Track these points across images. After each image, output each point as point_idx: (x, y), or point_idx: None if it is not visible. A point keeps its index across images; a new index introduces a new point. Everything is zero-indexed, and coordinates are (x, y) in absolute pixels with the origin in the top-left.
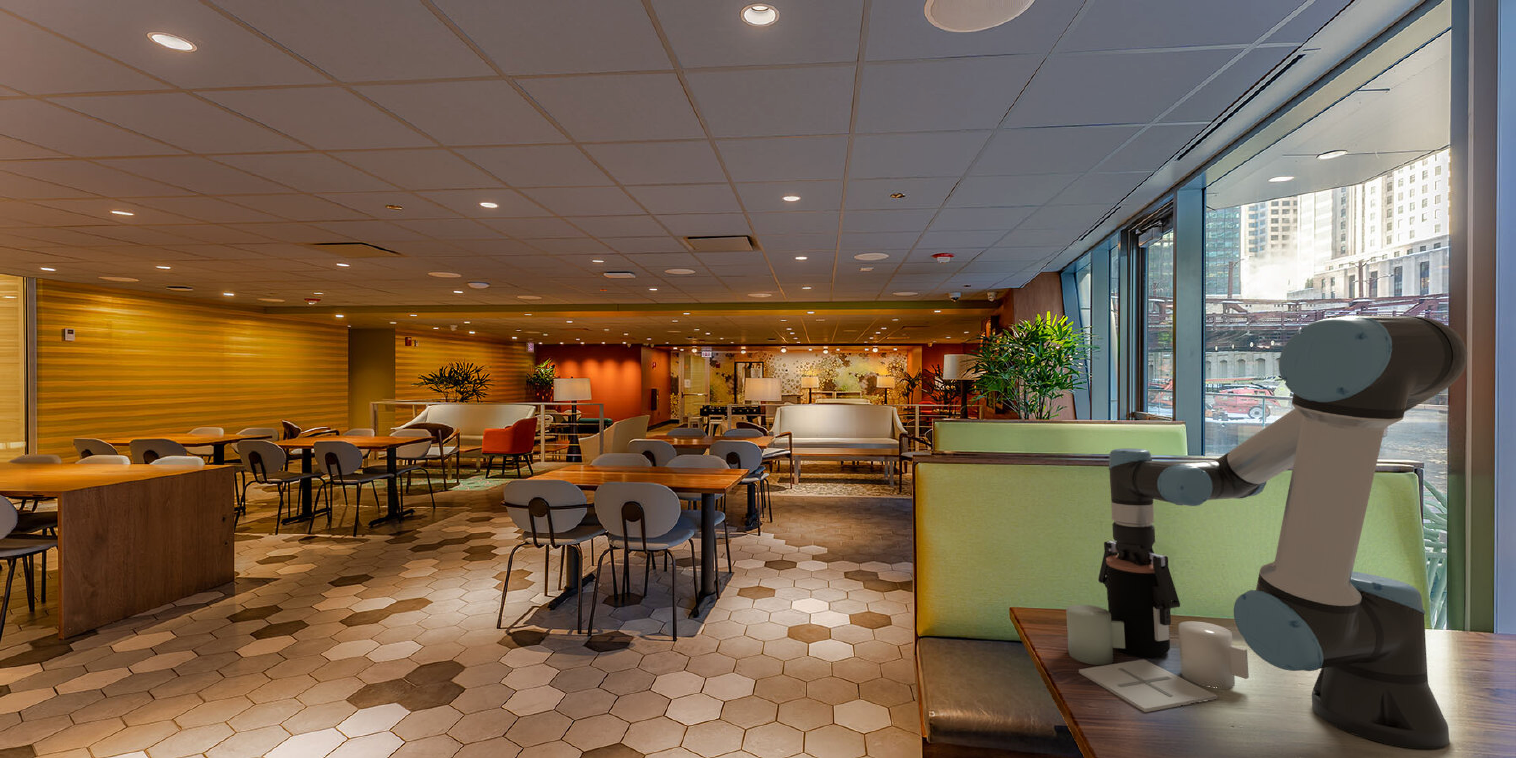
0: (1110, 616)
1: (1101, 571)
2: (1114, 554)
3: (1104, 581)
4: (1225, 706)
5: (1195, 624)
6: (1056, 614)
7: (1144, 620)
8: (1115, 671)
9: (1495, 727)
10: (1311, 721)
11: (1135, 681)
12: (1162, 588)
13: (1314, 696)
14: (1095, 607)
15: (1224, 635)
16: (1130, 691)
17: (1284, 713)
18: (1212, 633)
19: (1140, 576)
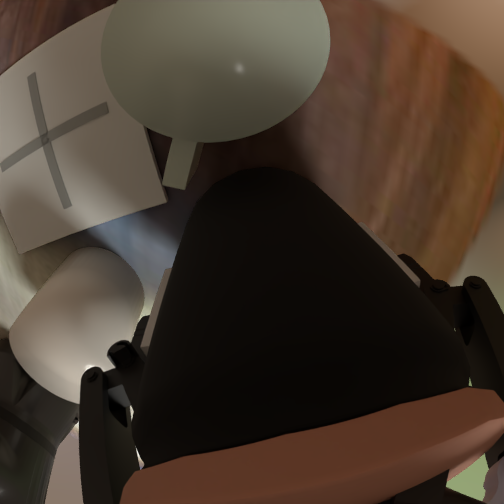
0: (137, 120)
1: (496, 315)
2: (495, 445)
3: (462, 295)
4: (6, 248)
5: None
6: (481, 160)
7: (169, 276)
8: (93, 88)
9: (71, 433)
10: (9, 326)
11: (46, 118)
12: (90, 434)
13: None
14: (275, 101)
15: (36, 376)
16: (13, 92)
17: (16, 313)
18: (37, 364)
19: (146, 458)
